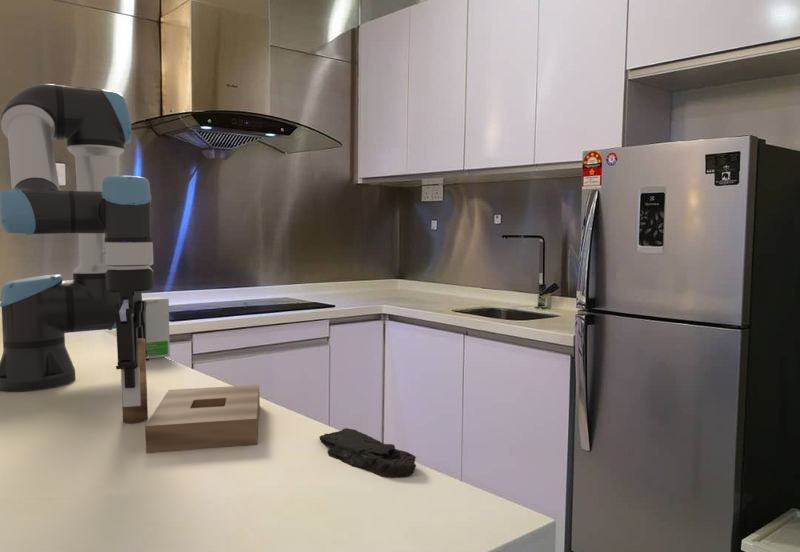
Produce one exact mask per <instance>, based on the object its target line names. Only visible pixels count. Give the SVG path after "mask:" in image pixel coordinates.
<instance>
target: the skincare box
mask: <svg viewBox="0 0 800 552" xmlns="http://www.w3.org/2000/svg"><path fill="white" fill-rule="evenodd" d="M142 300H145V301H146V343H147V355H146V356H149V360H151V359H155V358H156V359H158V358H166V357H167V358H168V357H170V356H171V353H170V351H171V350H170V349H171V347H170V345H171V344H170V309H169V308H170V307H169V306H170V303H169V301H170V300H169V298H168V297H161V296H160V297H142Z"/></svg>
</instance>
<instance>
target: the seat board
mask: <svg viewBox="0 0 800 552" xmlns="http://www.w3.org/2000/svg"><path fill="white" fill-rule="evenodd" d="M260 401H261V400H260V384H250V385H249V384H248V385H232V386H231V385H229V386H214V387H197V388H180V389H179V388H178V389H177V388H176V389H168V390H167V392H166V393H165V395H164V396H163V398H162V400H160V402H159V404H158V405H157V407H156V408H155V410H154V411H153V413H152V415H151V416H150V417H149V418H148V421H147V422H146V424H145V425H144V431H145V433H144V437H145V454H147V453H148V454H149V453H161V452H163V453H164V452H174V451H188V450H199V449H200V450H201V449H215V448H226V447H228V448H229V447H238V446H239V447H241V446H243V447H244V446H253V445H254V446H255V445H256V446H257V445H258V440H259V439H258V438H259V421H260V407H261V406H260V404H261V402H260Z"/></svg>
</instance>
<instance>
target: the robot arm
mask: <svg viewBox="0 0 800 552" xmlns="http://www.w3.org/2000/svg"><path fill="white" fill-rule="evenodd" d="M0 125H1V126H0V127H1V131H2V133H3V135H4V136H5V138H6V139H7V140H8V141H7V143H8V155H9V171H10V183H11V185H10V186H11V189H8V188H7V189H3V190H1V191H0V227H1V229H2V231H3V232H6V233H7V234H23V235H24V234H25V235H26V236H27V235H47V234H48V235H49V234H50V235H51V234H52V235H53V234H78V245H79V247H78V248H79V251H78V252H79V265H78V266H77V267H76V268H75V269H73V271H72V279H71V280H70V279H68V280H64V276H63V275H62V274H57V273H55V274H48V275H47V274H46V275H38V276H37V275H36V276H32V277H26V278H21V279H16V280H11V281H7V282H6V283H4V284H3V285H2V286H1V288H0V307H1V327H2V328H1V329H2V331H1V332H2V345H3V346H2V349H3V350H2V353H1V354H2V355H1V358H0V391H4V392H23V391H26V392H27V391H38V390H45V389H50V388H56V387H61V386H64V385H67V384H70V383H72V382H74V381H75V380H76V368H75V366H74V364H73V361H72V358H71V357H70V354H69V352H68V350H67V347H66V335H65V334H67V333H68V334H69V333H79V332H80V333H82V332H90V331H91V332H92V331H106V330H108V331H112V330H115V329H116V330H115V331H116V347H117V348H116V349H117V350H116V352H117V365H115V369H116V370H120V371H121V370H122V383H121V396H122V395H123V407H131V406H140V405H141V395H140V369H139V367H137V366H138V338H143V339H145V352H146V355H147V343H146V301H145V300H142V298H143V295H142V292H146V291H147V292H148V291H151V290H154V288H155V278H154V274H155V273H154V270H153V268H151V266H152V265H154V247H153V246H154V245H153V244H154V243H153V233H152V230H153V229H152V199H153V198H152V197H153V196H152V193H151V186H150V183H151V182H150V181H149V179H147V178H146V177H142V176H138V175H137V176H136V175H135V176H134V175H119V168H118V167H119V165H118V158H119V157H120V156H121V155H122V154H123V153H125V146H126V145H130V143H131V141H132V123H131V117H130V111H129V107H128V104H127V102H126V99H125V97H124V96H123V95H122V94H121V93H119V92H117V91H113V90H106V89H103V88H100V87H99V88H96V87H95V88H94V87H84V86H83V87H82V86H69V85H60V84H54V83H41V84H35V85H32V86H28V87H25V88H24V89H21V90H20V91H18V92H17V93H15V94H14V95H13V96H11V98H10V99H8V101H7V102H6V103H5V105H4V107H3V109H2V110H1V114H0ZM53 140H61V141H66V149H67V151H68V152H70V153H71V154H72V155H73V156H74V158H75V161H74V162H75V179H76V181H75V182H76V183H75V184H76V190H61V188H60V182H59V178H58V177H59V176H58V170H57V164H56V159H55V152H54V151H55V150H54V146H53ZM148 361H150V359H149V356H146V362H148Z"/></svg>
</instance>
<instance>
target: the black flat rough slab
mask: <svg viewBox="0 0 800 552" xmlns="http://www.w3.org/2000/svg"><path fill="white" fill-rule="evenodd" d="M319 441H320V442H321V443H322V444H323V445H325V446H327V447H328V448H329V449H327V454H328V456H329V457H331V458H333V459H336V460H338V461H340V462H342V463H345V464H347V465H349V466H350V467H352V468H353V467H354V468H357V469H362V470H367V471H369V472H371V473H373V474H376V475H378V476H380V477H382V478H383V477H384V478H388V479H393V478H405V477H409V476H411V475H413V474H414V473H415V470H416V467H417V464H416V458H417V457H416V456H415V455H414V454H413V453H409V452H408V451H405V450H400V449H397V448H396V446H395V445H396V444H391V443H389V444H388V443H384V442H381V441H380V440H378V439H376V438H373V437H372V436H369V435H368V434H366V433H362V431H358V430H356V429H354V428H353V429H352V428H347V427H345V428H343V429H342V430H339V431H335V432H333V431H332V432H330V433H324V434H323V435H320V436H319Z"/></svg>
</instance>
